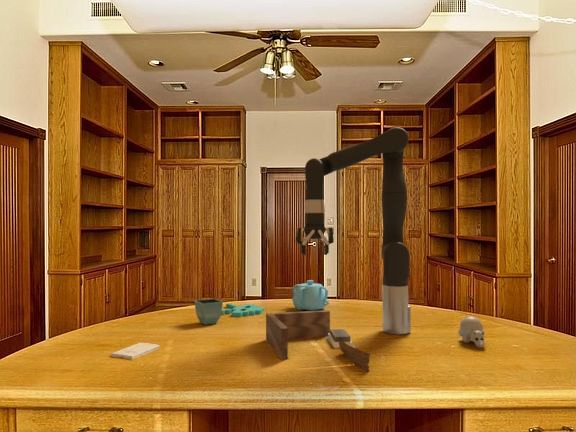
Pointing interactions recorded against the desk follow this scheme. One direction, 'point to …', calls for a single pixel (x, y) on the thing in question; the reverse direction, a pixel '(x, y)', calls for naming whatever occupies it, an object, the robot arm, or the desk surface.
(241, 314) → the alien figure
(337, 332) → the grey rectangular block
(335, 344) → the white offcut
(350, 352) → the wood plank
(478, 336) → the grey animal figurine
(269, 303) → the desk surface
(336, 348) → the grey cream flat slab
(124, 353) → the external hard drive
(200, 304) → the flower pot
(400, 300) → the robot arm
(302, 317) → the walnut rack
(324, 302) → the decorative pot
